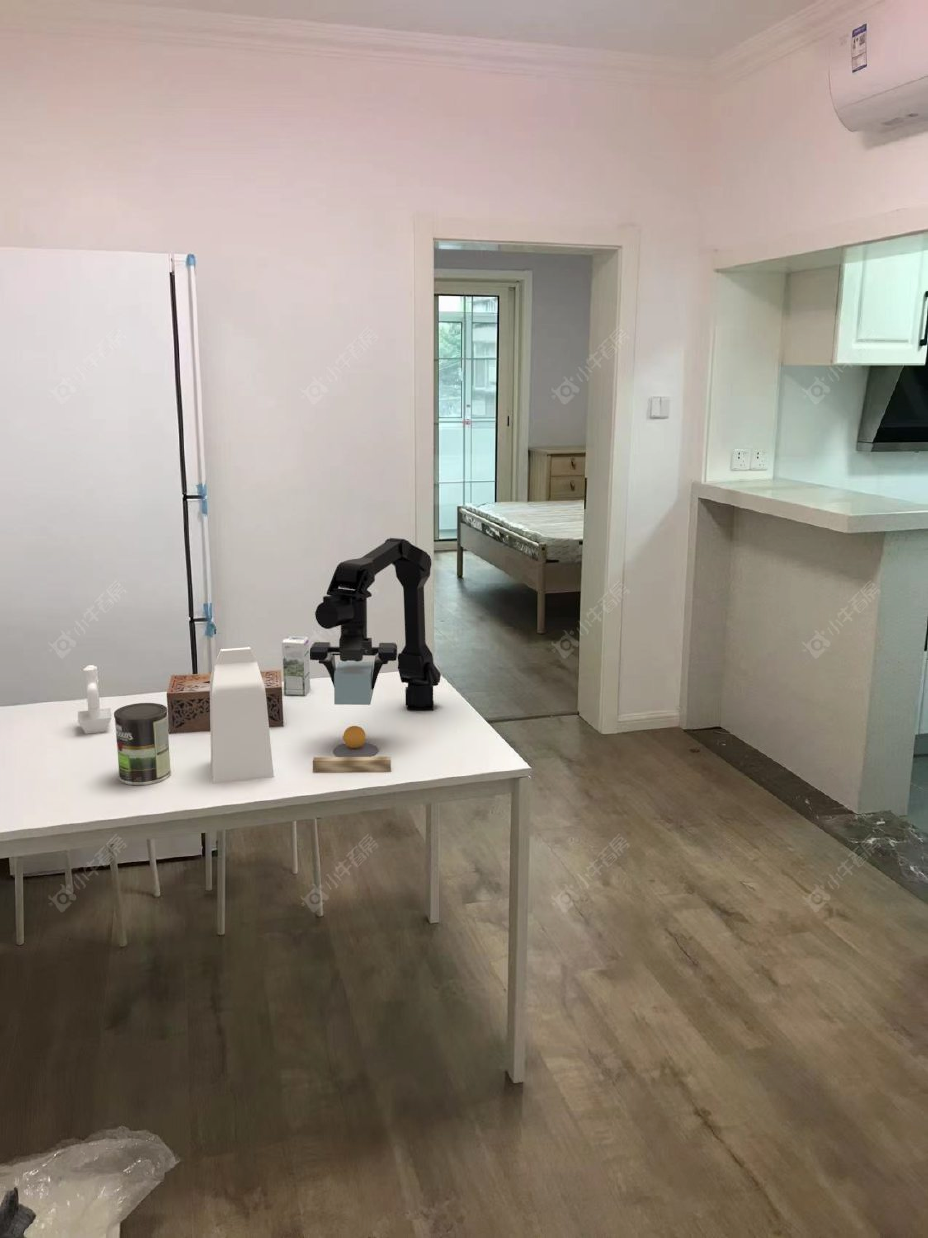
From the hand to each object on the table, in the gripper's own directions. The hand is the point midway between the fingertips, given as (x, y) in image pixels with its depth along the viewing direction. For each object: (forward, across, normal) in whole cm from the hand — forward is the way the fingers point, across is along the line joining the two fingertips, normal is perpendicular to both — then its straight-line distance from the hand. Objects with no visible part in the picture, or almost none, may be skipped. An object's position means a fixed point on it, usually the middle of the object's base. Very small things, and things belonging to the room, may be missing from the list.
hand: (354, 689), depth 220 cm
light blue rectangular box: (+2, 0, 0) cm, 2 cm away
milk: (+14, -22, -15) cm, 30 cm away
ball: (+10, 0, -3) cm, 11 cm away
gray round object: (+13, +1, -4) cm, 13 cm away
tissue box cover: (+13, -32, +16) cm, 38 cm away
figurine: (+13, -61, +10) cm, 63 cm away
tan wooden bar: (+13, +1, -15) cm, 20 cm away
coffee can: (+14, -41, -18) cm, 47 cm away
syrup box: (+12, -18, +37) cm, 43 cm away
